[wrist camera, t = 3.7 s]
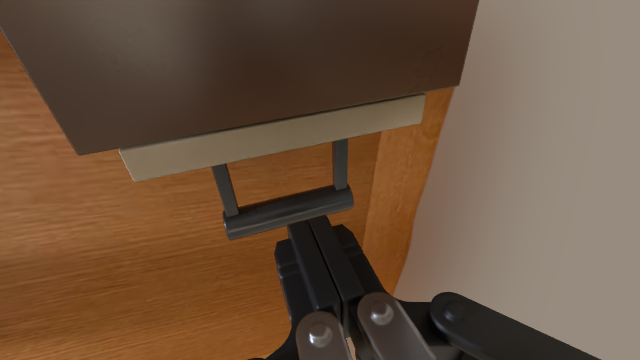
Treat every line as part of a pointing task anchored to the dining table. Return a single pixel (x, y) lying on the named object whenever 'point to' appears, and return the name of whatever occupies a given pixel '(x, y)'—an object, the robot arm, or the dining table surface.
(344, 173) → the drawer
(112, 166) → the dining table surface
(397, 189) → the dining table surface
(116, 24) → the cabinet
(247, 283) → the dining table surface
